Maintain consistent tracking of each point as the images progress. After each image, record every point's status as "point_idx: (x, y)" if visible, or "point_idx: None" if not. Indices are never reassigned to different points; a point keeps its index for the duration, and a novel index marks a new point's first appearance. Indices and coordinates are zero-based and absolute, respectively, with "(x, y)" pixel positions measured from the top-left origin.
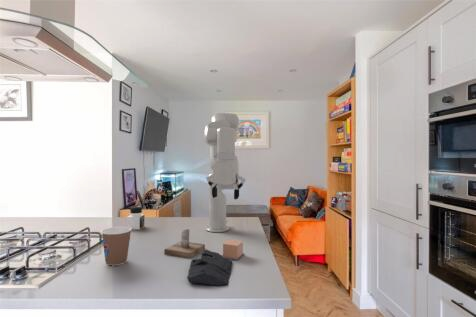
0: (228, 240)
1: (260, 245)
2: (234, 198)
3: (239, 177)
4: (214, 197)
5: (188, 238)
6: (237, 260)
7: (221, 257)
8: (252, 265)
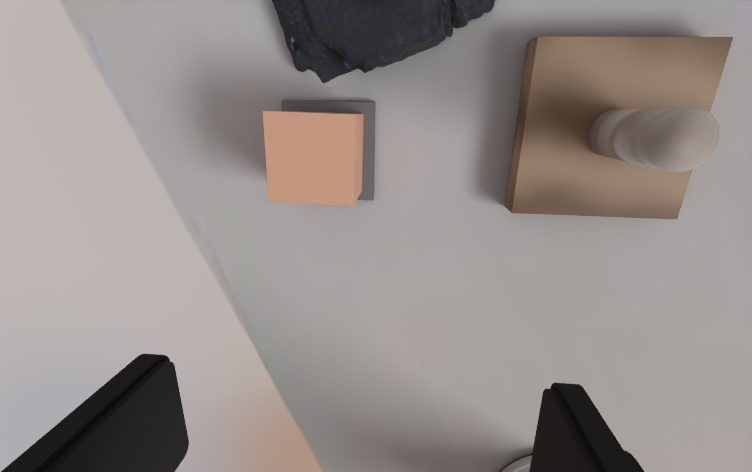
0: (352, 192)
1: (269, 334)
2: (153, 358)
3: None
4: (548, 406)
5: (616, 134)
6: (283, 102)
7: (332, 22)
8: (197, 69)
